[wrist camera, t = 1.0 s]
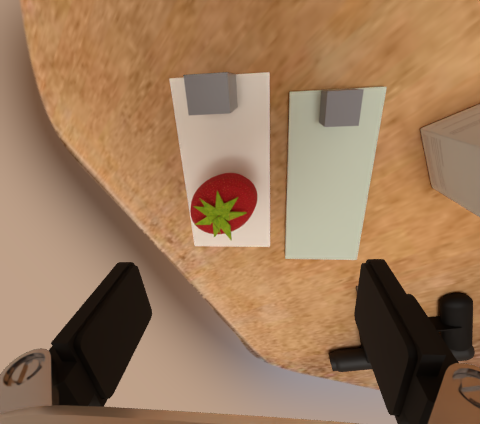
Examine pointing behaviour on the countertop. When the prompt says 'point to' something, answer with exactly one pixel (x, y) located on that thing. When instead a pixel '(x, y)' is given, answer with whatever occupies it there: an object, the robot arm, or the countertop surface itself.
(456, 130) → the supplement box
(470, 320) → the door handle
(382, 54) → the countertop surface
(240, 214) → the strawberry
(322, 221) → the pale green board
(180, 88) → the white serving board
